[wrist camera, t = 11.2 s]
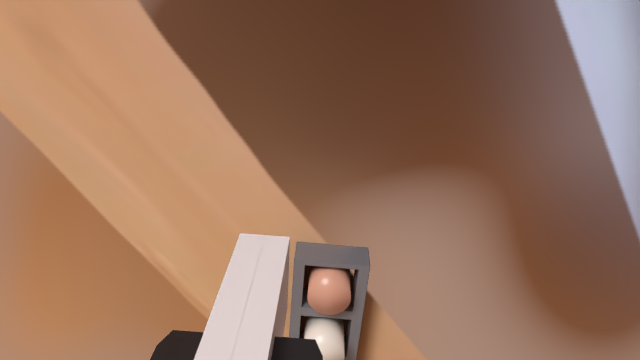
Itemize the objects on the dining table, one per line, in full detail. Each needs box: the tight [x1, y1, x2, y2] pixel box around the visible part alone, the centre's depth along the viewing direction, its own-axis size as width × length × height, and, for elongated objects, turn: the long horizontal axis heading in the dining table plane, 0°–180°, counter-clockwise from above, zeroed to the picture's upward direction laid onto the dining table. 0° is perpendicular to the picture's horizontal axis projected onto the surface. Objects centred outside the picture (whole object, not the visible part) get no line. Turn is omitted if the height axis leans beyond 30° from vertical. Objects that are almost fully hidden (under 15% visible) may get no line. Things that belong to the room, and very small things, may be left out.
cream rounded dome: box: [304, 316, 345, 360], centre depth 45 cm, size 4×4×4 cm
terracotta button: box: [307, 266, 351, 315], centre depth 44 cm, size 4×4×4 cm
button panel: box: [289, 242, 370, 360], centre depth 47 cm, size 18×7×3 cm, turn 175°
